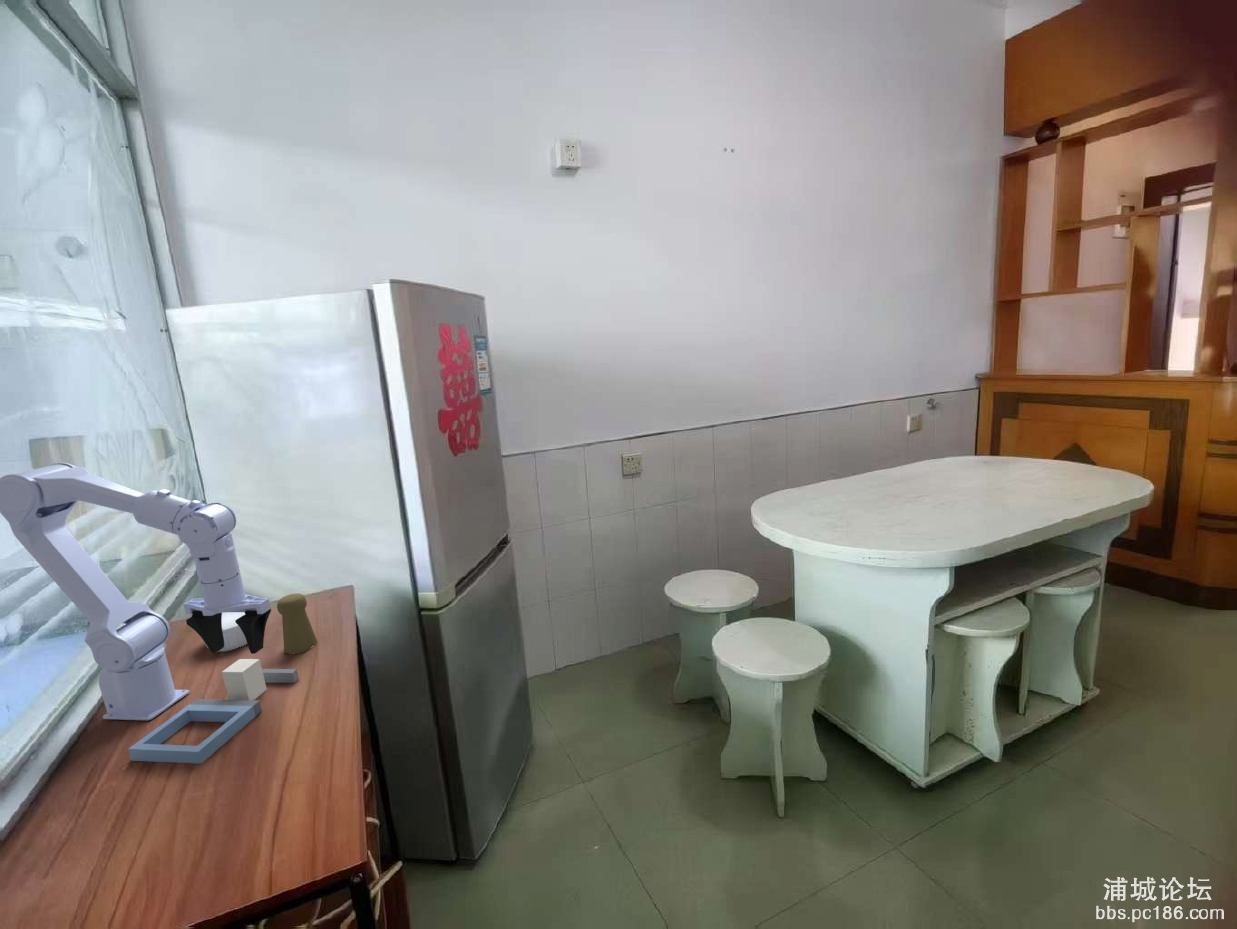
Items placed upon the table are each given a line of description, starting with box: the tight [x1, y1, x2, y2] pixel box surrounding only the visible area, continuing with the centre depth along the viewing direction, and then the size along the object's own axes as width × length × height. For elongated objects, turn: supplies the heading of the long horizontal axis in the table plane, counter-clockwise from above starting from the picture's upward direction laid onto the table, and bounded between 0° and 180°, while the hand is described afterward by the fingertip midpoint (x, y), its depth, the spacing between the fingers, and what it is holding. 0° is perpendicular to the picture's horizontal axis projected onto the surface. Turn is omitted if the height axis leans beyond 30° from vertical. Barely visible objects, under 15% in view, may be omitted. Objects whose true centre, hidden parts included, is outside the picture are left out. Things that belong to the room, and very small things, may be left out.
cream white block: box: [221, 658, 268, 700], centre depth 102 cm, size 4×4×6 cm
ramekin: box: [203, 612, 247, 653], centre depth 122 cm, size 11×11×5 cm
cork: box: [276, 593, 318, 655], centre depth 117 cm, size 6×6×11 cm
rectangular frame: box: [128, 668, 300, 764], centre depth 97 cm, size 12×21×2 cm, turn 171°
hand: (237, 650), depth 100 cm, fingers open, 7 cm apart
